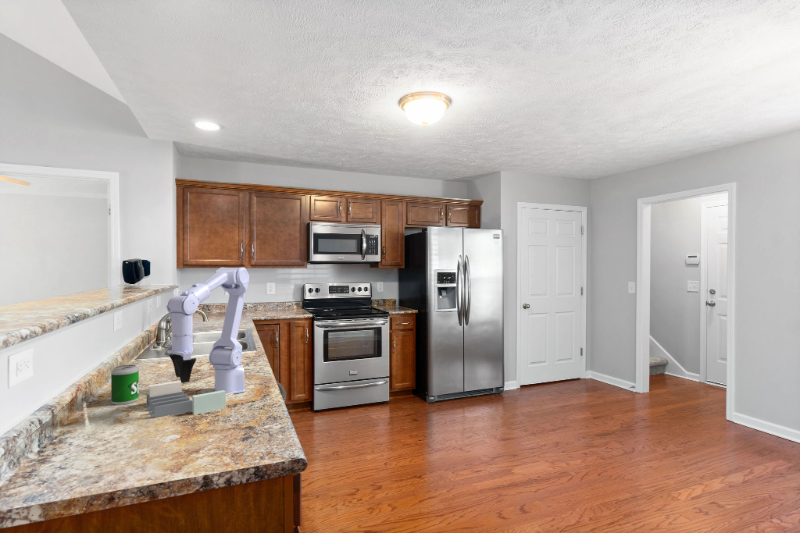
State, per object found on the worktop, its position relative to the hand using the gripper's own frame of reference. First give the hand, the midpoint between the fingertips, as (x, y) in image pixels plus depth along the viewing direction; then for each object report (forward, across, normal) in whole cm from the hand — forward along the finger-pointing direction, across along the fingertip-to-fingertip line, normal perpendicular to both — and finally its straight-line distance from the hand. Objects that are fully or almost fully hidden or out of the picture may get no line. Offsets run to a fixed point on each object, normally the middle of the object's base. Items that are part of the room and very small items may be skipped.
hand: (182, 379), depth 129 cm
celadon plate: (+10, +6, +6) cm, 13 cm away
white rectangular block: (+9, -10, -3) cm, 14 cm away
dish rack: (+10, -5, -3) cm, 11 cm away
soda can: (+10, -20, -13) cm, 26 cm away
